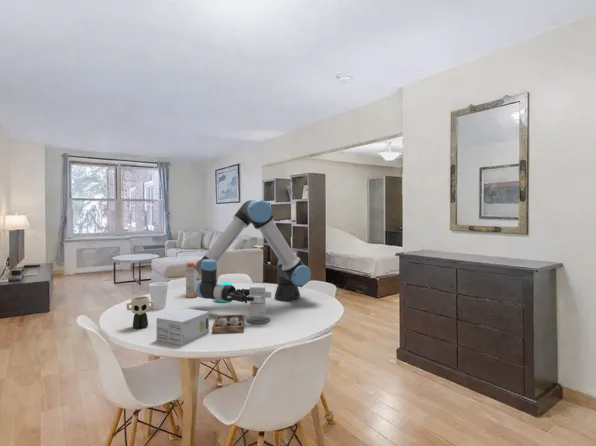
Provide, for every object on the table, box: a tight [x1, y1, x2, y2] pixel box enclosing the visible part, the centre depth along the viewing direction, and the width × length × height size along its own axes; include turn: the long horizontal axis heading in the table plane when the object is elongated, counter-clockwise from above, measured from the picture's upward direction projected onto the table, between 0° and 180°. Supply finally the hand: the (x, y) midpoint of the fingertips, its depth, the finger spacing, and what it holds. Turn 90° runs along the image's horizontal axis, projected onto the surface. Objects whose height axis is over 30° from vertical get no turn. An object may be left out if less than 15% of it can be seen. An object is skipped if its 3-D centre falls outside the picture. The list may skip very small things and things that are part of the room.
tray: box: [211, 314, 245, 335], centre depth 161 cm, size 13×18×5 cm
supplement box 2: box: [249, 283, 266, 315], centre depth 169 cm, size 7×7×13 cm
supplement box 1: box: [155, 308, 210, 346], centre depth 148 cm, size 17×13×9 cm
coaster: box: [245, 315, 271, 325], centre depth 170 cm, size 11×11×1 cm
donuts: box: [215, 282, 233, 303], centre depth 208 cm, size 10×10×10 cm
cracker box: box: [185, 259, 201, 299], centre depth 221 cm, size 14×6×21 cm, turn 168°
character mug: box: [126, 295, 154, 329], centre depth 160 cm, size 11×7×13 cm, turn 114°
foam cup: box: [148, 281, 169, 311], centre depth 192 cm, size 10×9×13 cm
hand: (265, 297), depth 168 cm, fingers closed on supplement box 2, 9 cm apart
